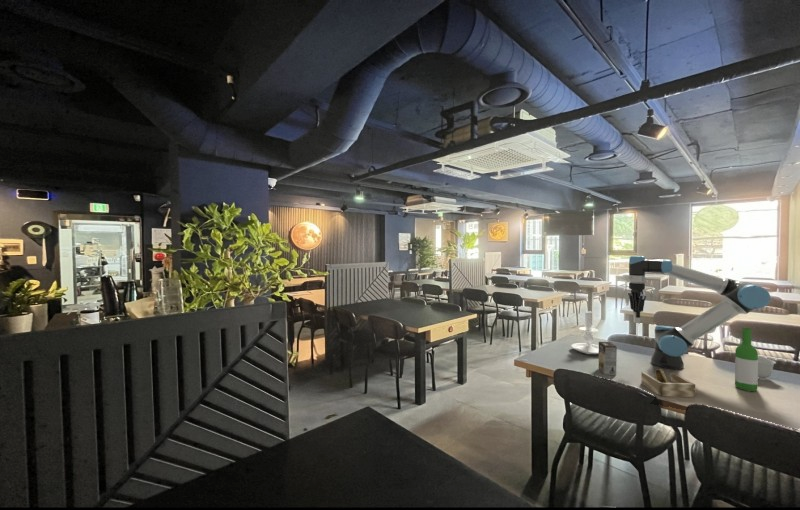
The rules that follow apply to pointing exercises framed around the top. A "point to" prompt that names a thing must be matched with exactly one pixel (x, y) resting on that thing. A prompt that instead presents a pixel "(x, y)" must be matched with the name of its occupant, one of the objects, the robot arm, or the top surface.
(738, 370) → the wine bottle
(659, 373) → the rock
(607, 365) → the coffee box
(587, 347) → the candlestick
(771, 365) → the teacup
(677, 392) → the box
